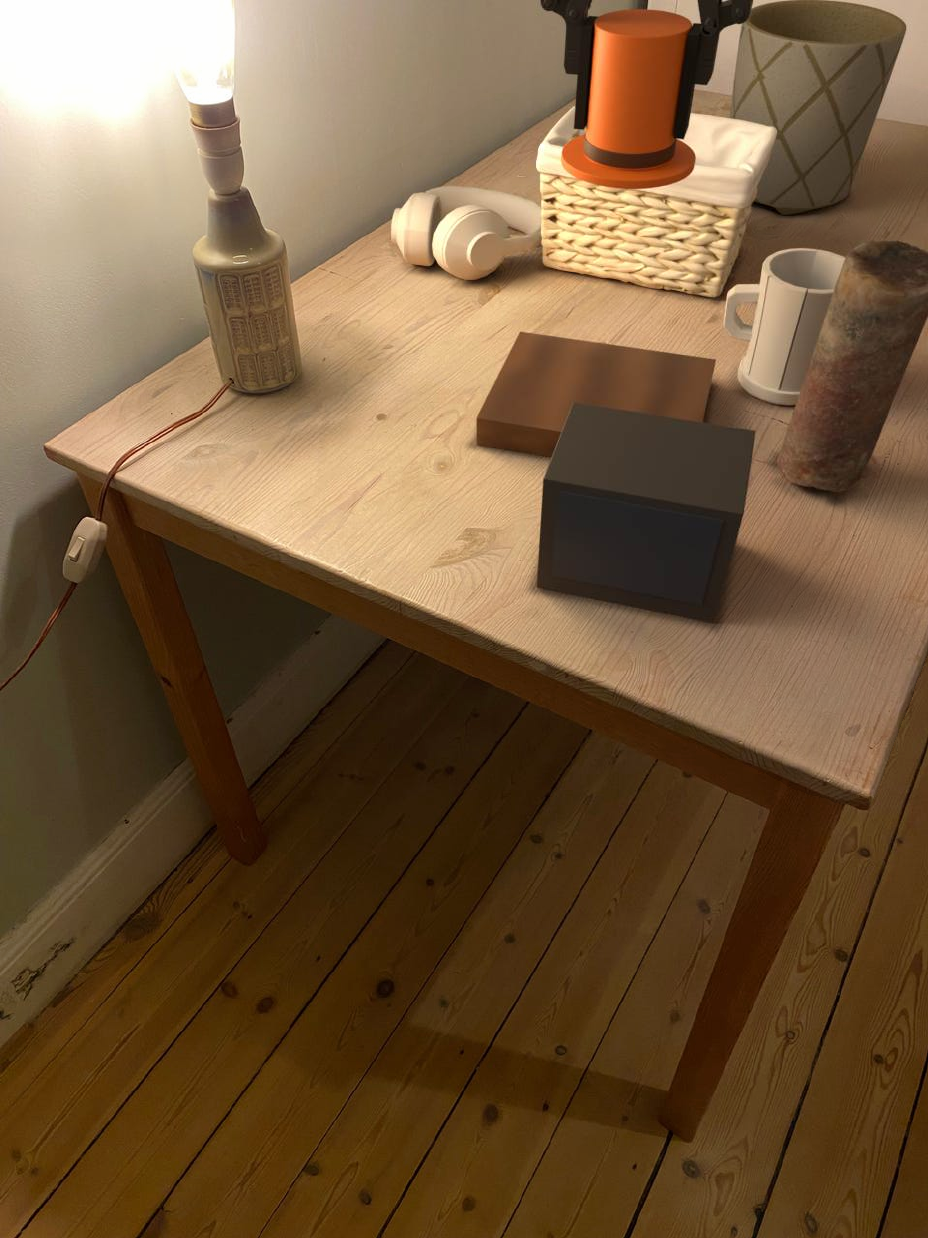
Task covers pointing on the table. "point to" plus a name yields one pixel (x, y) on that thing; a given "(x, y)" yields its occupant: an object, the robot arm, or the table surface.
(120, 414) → the table surface
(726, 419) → the table surface
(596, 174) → the hat
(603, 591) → the television
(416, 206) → the headphones
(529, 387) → the brown wooden board
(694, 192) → the basket
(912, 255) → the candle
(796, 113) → the planter
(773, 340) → the cup
